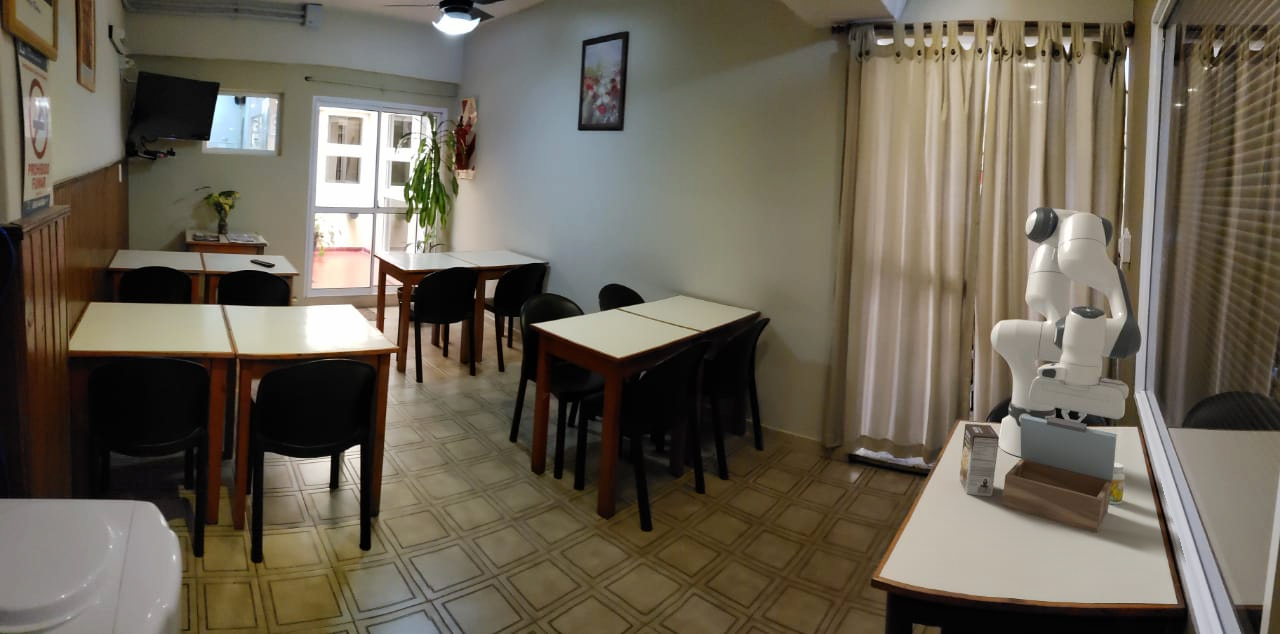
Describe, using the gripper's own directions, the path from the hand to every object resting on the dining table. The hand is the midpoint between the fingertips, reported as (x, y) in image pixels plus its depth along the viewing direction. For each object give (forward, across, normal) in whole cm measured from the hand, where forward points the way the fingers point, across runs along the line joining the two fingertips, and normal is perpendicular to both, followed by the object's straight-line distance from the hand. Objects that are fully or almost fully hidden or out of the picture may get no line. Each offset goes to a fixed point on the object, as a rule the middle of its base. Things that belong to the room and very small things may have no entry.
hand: (1071, 427), depth 176 cm
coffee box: (+19, +18, +9) cm, 28 cm away
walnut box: (+19, 0, +8) cm, 21 cm away
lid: (+4, 0, +5) cm, 7 cm away
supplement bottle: (+19, -9, -7) cm, 22 cm away
